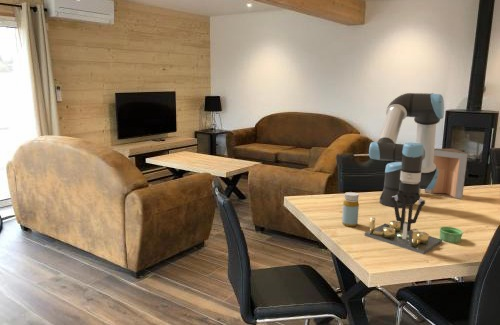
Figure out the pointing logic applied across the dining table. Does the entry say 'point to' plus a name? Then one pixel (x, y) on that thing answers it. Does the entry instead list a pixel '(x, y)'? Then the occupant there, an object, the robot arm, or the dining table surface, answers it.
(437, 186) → the cabinet
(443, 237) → the ramekin
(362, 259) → the dining table surface
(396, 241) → the control panel
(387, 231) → the knob
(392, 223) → the knob
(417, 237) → the knob
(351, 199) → the bottle
